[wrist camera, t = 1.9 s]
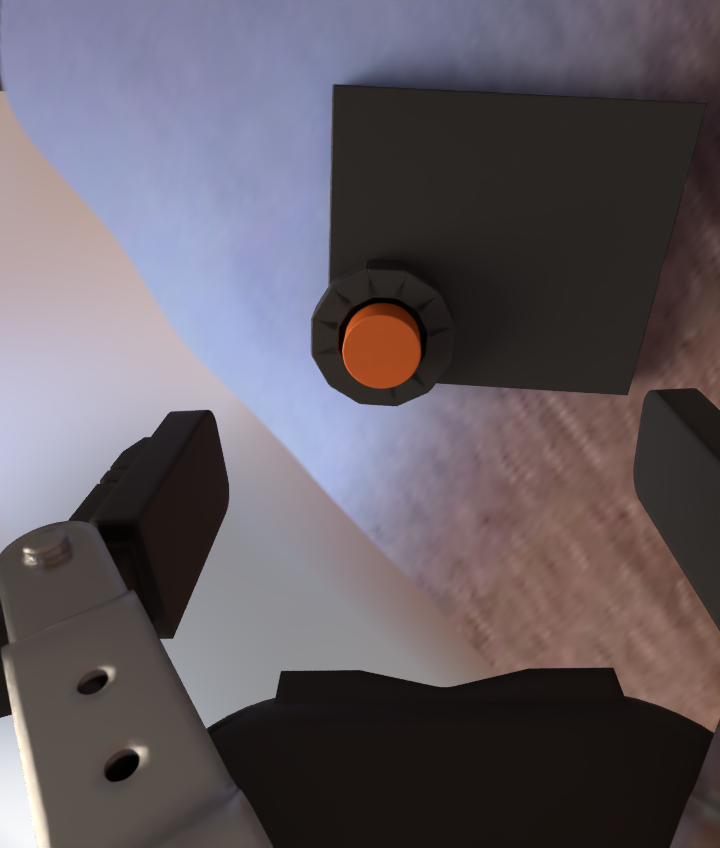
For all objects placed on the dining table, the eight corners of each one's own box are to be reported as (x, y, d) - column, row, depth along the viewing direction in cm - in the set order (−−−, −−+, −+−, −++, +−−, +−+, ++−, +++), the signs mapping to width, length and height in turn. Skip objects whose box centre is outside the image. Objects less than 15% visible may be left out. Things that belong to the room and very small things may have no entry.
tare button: (344, 370, 27) (340, 386, 26) (346, 299, 26) (343, 312, 24) (416, 375, 27) (417, 391, 25) (423, 304, 26) (425, 317, 24)
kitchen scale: (317, 375, 30) (310, 401, 28) (322, 84, 24) (312, 82, 22) (615, 393, 30) (637, 422, 27) (692, 103, 24) (728, 103, 21)
